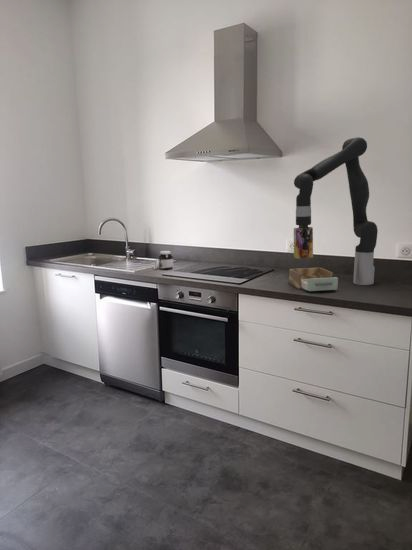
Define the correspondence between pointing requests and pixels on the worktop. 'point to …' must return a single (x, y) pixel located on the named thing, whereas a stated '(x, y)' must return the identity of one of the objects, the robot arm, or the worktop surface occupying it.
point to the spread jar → (164, 261)
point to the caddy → (306, 275)
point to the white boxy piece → (320, 284)
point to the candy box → (299, 244)
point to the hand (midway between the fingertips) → (303, 249)
